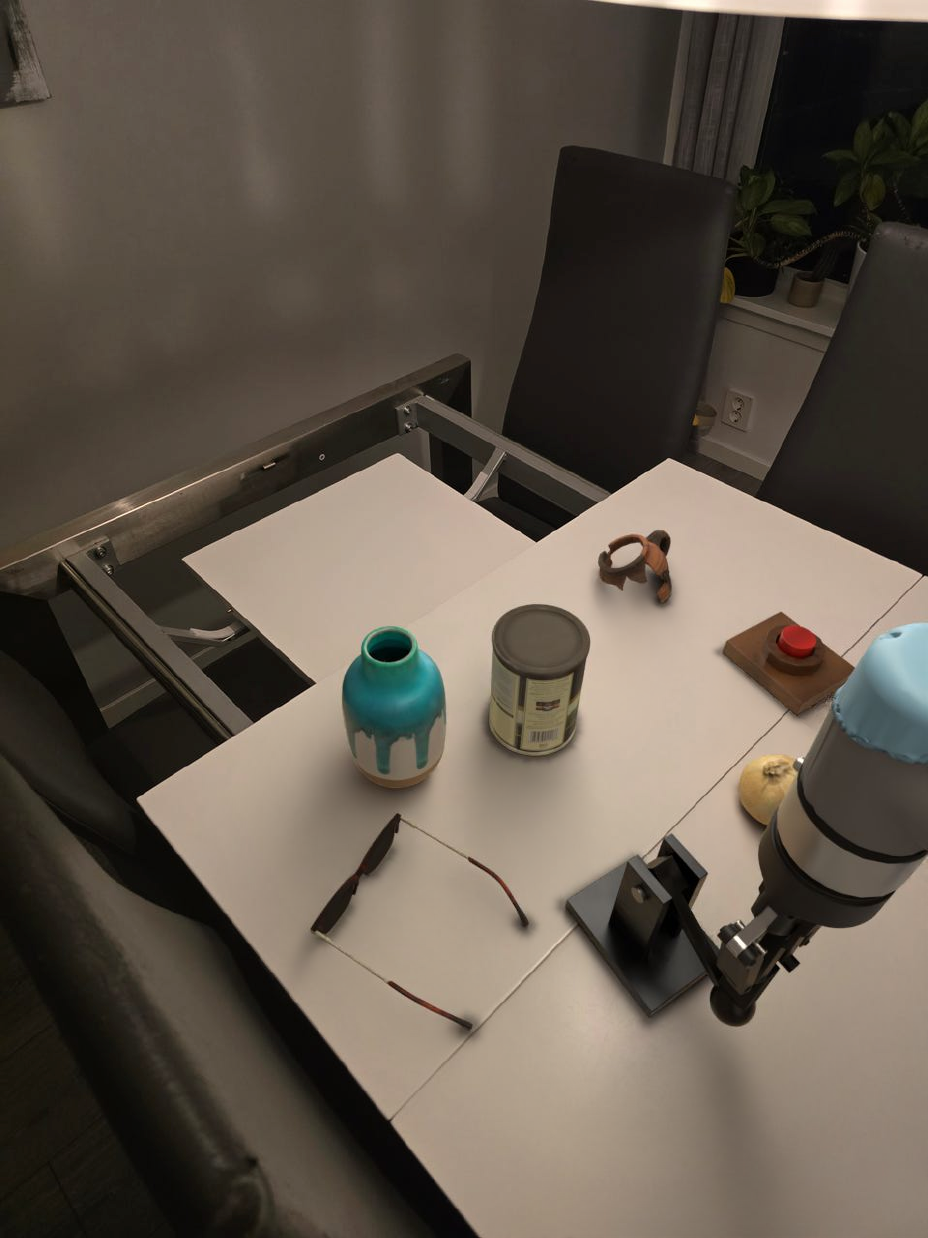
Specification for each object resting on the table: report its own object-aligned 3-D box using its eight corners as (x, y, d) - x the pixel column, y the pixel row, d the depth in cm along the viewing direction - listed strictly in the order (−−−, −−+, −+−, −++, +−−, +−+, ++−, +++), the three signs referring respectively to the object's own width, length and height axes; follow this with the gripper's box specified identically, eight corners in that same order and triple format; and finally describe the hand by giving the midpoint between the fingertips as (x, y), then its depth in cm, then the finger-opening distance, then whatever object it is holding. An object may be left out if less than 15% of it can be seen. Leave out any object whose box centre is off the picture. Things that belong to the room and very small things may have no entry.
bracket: (722, 962, 72) (761, 898, 63) (649, 1018, 68) (678, 958, 59) (635, 860, 79) (658, 789, 70) (565, 906, 76) (579, 837, 67)
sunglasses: (397, 834, 81) (397, 809, 77) (534, 916, 76) (541, 894, 72) (313, 949, 72) (308, 927, 69) (461, 1050, 67) (465, 1032, 64)
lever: (746, 1008, 66) (773, 1013, 63) (716, 1033, 65) (741, 1039, 61) (660, 853, 69) (681, 850, 65) (629, 873, 67) (649, 872, 64)
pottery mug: (659, 621, 104) (635, 578, 100) (602, 613, 111) (578, 572, 107) (698, 557, 109) (678, 513, 104) (642, 553, 116) (620, 512, 111)
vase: (342, 738, 90) (322, 619, 76) (431, 715, 92) (427, 596, 78) (363, 815, 82) (345, 700, 69) (459, 789, 85) (460, 672, 71)
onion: (775, 765, 87) (794, 726, 82) (827, 822, 82) (851, 784, 77) (718, 791, 85) (734, 752, 80) (767, 851, 80) (788, 814, 75)
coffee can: (538, 674, 97) (548, 590, 87) (594, 729, 91) (611, 646, 81) (470, 711, 92) (472, 627, 83) (524, 772, 86) (532, 689, 77)
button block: (851, 681, 96) (863, 659, 93) (796, 715, 92) (807, 693, 90) (776, 622, 103) (785, 600, 101) (722, 652, 100) (729, 630, 97)
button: (818, 650, 95) (823, 640, 94) (796, 663, 93) (800, 653, 92) (792, 630, 97) (797, 620, 96) (770, 643, 96) (774, 633, 95)
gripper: (857, 748, 51) (758, 910, 67) (713, 845, 46) (644, 995, 62) (963, 836, 46) (829, 987, 63) (816, 954, 41) (712, 1084, 58)
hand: (737, 991), depth 63 cm, fingers closed
